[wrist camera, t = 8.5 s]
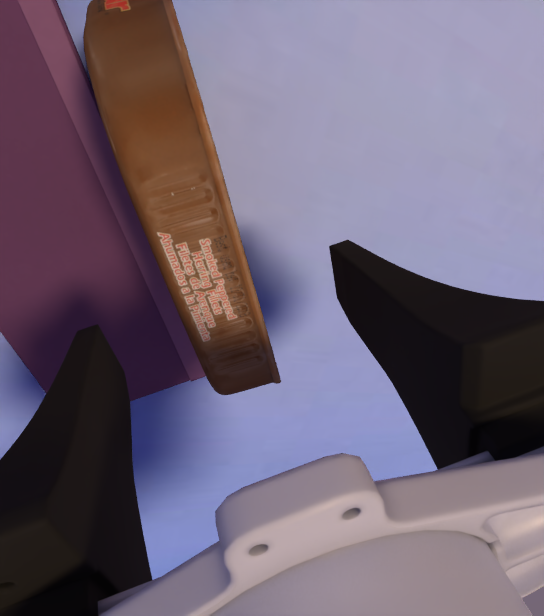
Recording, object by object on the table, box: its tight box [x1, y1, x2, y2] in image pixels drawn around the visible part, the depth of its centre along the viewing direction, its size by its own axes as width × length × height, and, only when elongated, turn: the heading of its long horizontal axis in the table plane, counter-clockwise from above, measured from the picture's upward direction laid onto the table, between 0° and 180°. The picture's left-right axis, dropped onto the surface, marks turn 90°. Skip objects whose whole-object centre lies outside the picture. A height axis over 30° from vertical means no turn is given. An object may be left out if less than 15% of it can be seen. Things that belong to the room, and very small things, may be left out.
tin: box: [83, 0, 281, 395], centre depth 19 cm, size 15×3×8 cm, turn 12°
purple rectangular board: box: [0, 0, 206, 401], centre depth 22 cm, size 8×20×1 cm, turn 12°
